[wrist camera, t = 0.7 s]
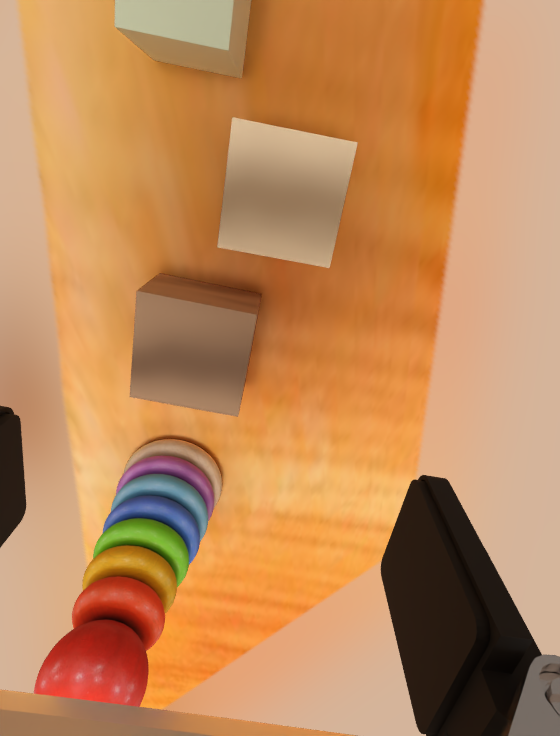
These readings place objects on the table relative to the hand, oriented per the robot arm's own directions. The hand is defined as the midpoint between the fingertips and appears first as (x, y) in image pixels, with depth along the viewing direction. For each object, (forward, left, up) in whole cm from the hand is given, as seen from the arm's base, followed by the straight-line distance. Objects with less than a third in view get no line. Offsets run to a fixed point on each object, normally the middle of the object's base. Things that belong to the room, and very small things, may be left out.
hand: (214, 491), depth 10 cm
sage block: (-14, -6, -21) cm, 26 cm away
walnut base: (+4, -4, -21) cm, 22 cm away
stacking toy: (+17, -5, -21) cm, 27 cm away
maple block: (-6, 0, -21) cm, 22 cm away
